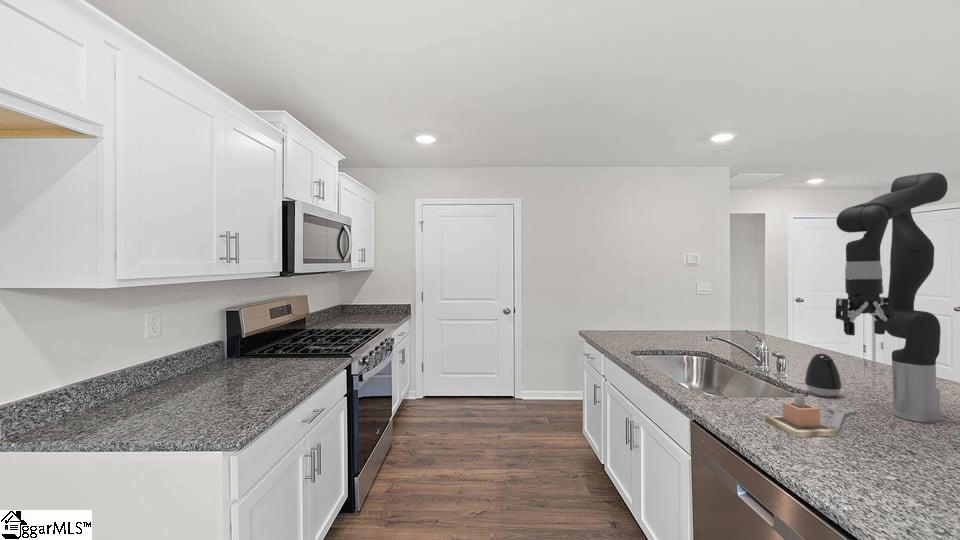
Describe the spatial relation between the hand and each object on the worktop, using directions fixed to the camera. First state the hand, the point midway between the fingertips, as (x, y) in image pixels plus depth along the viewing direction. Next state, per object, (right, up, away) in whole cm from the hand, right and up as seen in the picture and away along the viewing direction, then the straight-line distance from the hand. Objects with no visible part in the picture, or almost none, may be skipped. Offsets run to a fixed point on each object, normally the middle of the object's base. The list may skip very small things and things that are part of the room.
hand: (864, 334), depth 112 cm
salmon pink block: (-14, -27, +5) cm, 31 cm away
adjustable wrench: (+1, -29, +11) cm, 31 cm away
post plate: (-14, -29, +5) cm, 32 cm away
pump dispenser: (+17, -28, +33) cm, 46 cm away
